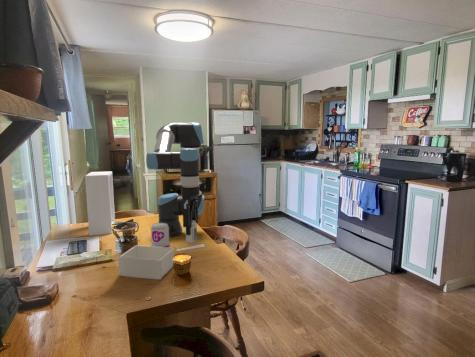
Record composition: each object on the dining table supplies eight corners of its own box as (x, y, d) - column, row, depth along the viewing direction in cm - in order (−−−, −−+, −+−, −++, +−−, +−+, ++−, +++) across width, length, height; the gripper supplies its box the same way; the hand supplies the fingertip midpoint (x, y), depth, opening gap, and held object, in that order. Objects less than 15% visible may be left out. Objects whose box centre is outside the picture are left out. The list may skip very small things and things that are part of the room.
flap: (109, 255, 115) (109, 256, 115) (149, 258, 112) (149, 259, 112) (119, 256, 122) (119, 257, 122) (157, 259, 119) (157, 260, 119)
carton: (136, 261, 137) (135, 245, 136) (175, 265, 134) (174, 247, 133) (118, 275, 123) (117, 257, 122) (161, 279, 120) (160, 260, 119)
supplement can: (165, 259, 140) (164, 227, 139) (149, 257, 142) (147, 226, 140) (172, 252, 148) (171, 223, 146) (156, 251, 150) (155, 222, 148)
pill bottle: (193, 237, 132) (193, 219, 131) (199, 240, 128) (198, 221, 127) (183, 240, 129) (183, 221, 128) (189, 243, 125) (188, 223, 124)
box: (95, 225, 196) (91, 171, 191) (115, 223, 200) (112, 171, 195) (89, 235, 176) (84, 175, 171) (111, 233, 179) (108, 175, 174)
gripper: (188, 182, 134) (190, 232, 138) (173, 189, 117) (175, 246, 121) (205, 182, 133) (206, 233, 136) (191, 190, 116) (192, 248, 119)
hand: (191, 239), depth 129 cm, fingers closed on pill bottle, 5 cm apart
